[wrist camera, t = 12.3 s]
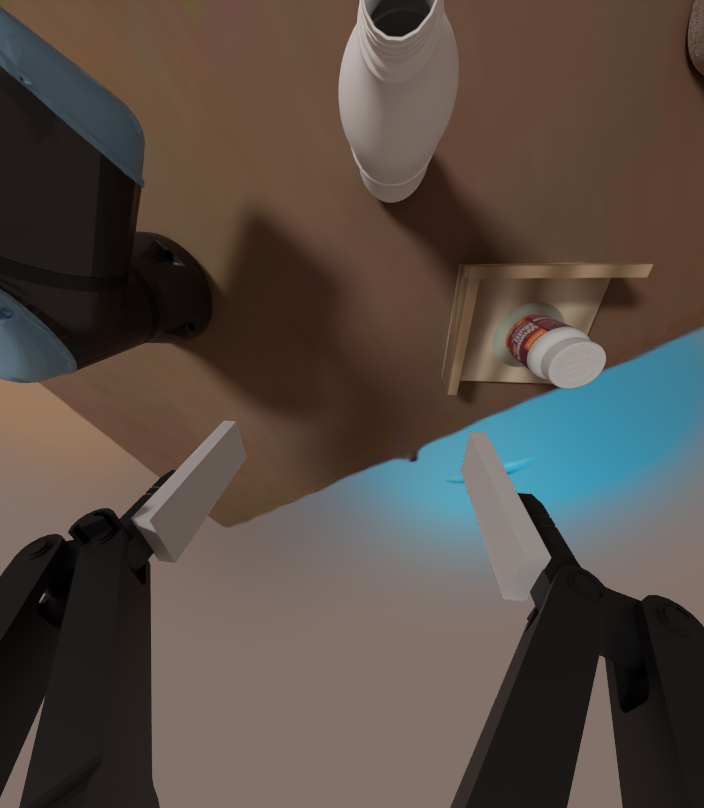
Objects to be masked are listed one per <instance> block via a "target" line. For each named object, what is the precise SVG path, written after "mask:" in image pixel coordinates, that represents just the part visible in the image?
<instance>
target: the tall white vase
mask: <svg viewBox="0 0 704 808" xmlns="http://www.w3.org/2000/svg"><path fill="white" fill-rule="evenodd" d="M457 87H458V52H457V45H456V40H455V37H454V34H453V30H452V27H451V25H450V23H449V21H448V19H447V17H446V15H445V13H444V0H360V4H359V9H358V18H357V24H356V26H355V27H354V29H353V32H352V34H351V36H350V39H349V41H348V43H347V46H346V49H345V52H344V56H343V59H342V64H341V71H340V77H339V96H338V97H339V108H340V115H341V121H342V125H343V128H344V132H345V135H346V137H347V139H348V141H349V144H350V146H351V148H352V152H353V156H354V158H355V161H356V163H357V165H358V167H359V169H360V172H361V176H362V179H363V181H364V184H365V185H366V187H367V189H368V190H369V191H370V193H371V194H372V195H373V196H374V197H376V198H377V199H379V200H381V201H383V202H387V203H394V202H399V201H401V200H404V199H405V198H407V197H408V196H410V195H411V194H412V193H413V192H414V191H415V190H416V189H417V188H418V186H419V185H420V183H421V181H422V179H423V178H424V175H425V173H426V170H427V167H428V164H429V162H430V160H431V158H432V156H433V154H434V152H435V149H436V147H437V144H438V142H439V140H440V139H441V137H442V135H443V134H444V131H445V129H446V127H447V125H448V123H449V120H450V117H451V114H452V111H453V108H454V104H455V99H456V95H457Z"/></svg>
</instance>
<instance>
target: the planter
mask: <svg viewBox="0 0 704 808" xmlns="http://www.w3.org/2000/svg"><path fill="white" fill-rule="evenodd" d="M687 46H688V52H689V56H690V60H691V62H692V64H693V66H694V67H695V69H696V70H697V71H698V72H699V73H700V74H701V75H702V76H704V0H694V3H693V6H692V10H691V14H690V18H689V24H688V33H687Z"/></svg>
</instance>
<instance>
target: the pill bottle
mask: <svg viewBox="0 0 704 808" xmlns="http://www.w3.org/2000/svg"><path fill="white" fill-rule="evenodd" d="M505 345H506V348H507V350H508V351H509V353H510V354H511V355H512V356H514V357H515V358H516V359H517V360H518V361H519V362H520V363H522V364H523V365H524V366H525V367H526V368H527V369H529V370H530V371H531V372H532V373H533V374H535V375H536V376H538V377H540V378H542V379H546V380H549V381H550V382H552V383H553V384H554V385H556V386H558V387H561V388H567V389H570V388H577V387H581V386H583V385H585V384H587V383H589V382H591V381H592V380H593V379H595V378H596V377H597V376H598V375H599V374H600V373H601V371H602V369H603V368H604V365H605V362H606V355H605V352H604V350H603V349H602V347H601V346H599V345H598V344H596V343H594V342H591V341H590V339H589V337H588V336H587V335H586V334H585V333H584V332H582V331H581V330H579V329H577V328H574V327H572V326H570V325H567V324H565V323H562V322H560V321H558V320H555V319H553V318H551V317H548V316H546V315H543V314H529V315H526V316H523V317H521V318H519V319H518V320H517V321H515V322H514V323H513V324H512V325H511V327H510V328H509V329H508V331H507V334H506V337H505Z"/></svg>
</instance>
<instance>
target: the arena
mask: <svg viewBox="0 0 704 808" xmlns="http://www.w3.org/2000/svg"><path fill="white" fill-rule="evenodd" d="M652 266H653V264H637V263H619V262H590V263H521V264H459V269H458V276H457V282H456V288H455V294H454V301H453V307H452V313H451V319H450V325H449V332H448V338H447V344H446V350H445V357H444V363H443V369H442V375H441V379H442V381H443V384H444V386H445V389H446V391H447V394H448V395H457V391H458V386H459V381H460V380H461V381H491V382H521V383H551V384H553V383H552V382H550V381H549V380H546V379H542V378H540V377H538V376H536V375H535V374H533V373H532V372H531V371H530V370H529V369H527V368H526V367H525V366H524V365H523V364H522V363H520V362H519V361H518V360H517V359H516V358H515V357H514V356H512V355H511V354H510V353H509V351H508V350H507V348H506V345H505V337H506V334H507V331H508V329H509V328H510V327H511V325H512V324H513V323H514V322H515V321H517V320H518V319H519V318H521V317H523V316H526V315H529V314H543V315H546V316H548V317H551V318H553V319H555V320H558V321H560V322H562V323H565V324H567V325H570V326H572V327H574V328H577V329H579V330H581V331H582V332H584V333H585V334H586V335H588V332H589V330H590V327H591V325H592V323H593V320H594V318H595V316H596V313H597V311H598V308H599V306H600V304H601V301H602V299H603V297H604V294H605V292H606V289H607V287H608V285H609V282H610V280H611V278H617V277H647V276H648V274H649V272H650V270H651V268H652Z"/></svg>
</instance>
